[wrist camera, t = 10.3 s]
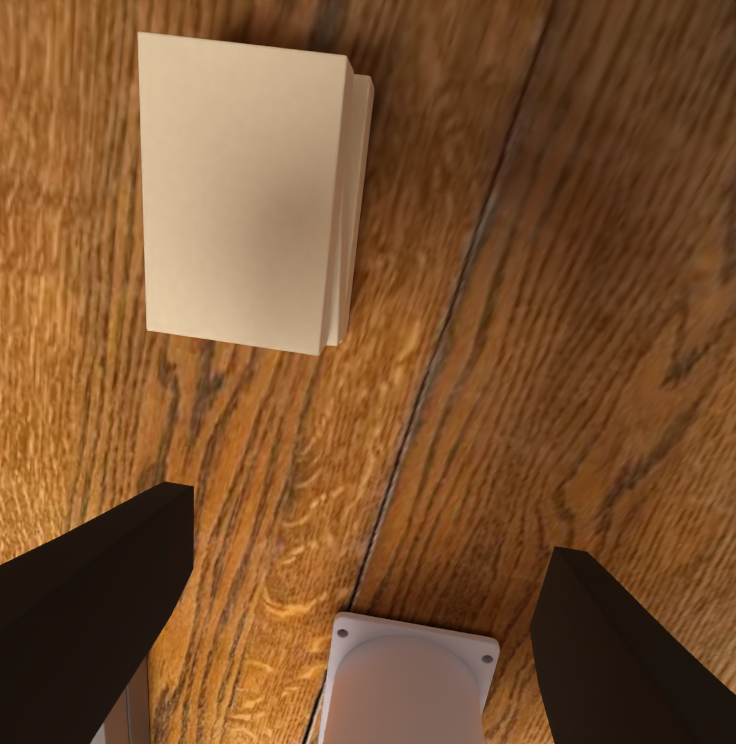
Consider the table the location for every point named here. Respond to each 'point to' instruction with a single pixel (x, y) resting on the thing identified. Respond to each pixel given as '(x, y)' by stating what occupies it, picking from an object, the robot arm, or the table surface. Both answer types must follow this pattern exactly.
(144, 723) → the grey books
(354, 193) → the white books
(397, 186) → the table surface
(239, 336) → the cream rectangular slab
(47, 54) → the table surface
